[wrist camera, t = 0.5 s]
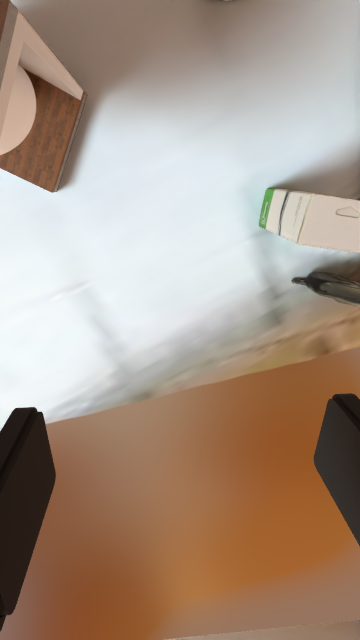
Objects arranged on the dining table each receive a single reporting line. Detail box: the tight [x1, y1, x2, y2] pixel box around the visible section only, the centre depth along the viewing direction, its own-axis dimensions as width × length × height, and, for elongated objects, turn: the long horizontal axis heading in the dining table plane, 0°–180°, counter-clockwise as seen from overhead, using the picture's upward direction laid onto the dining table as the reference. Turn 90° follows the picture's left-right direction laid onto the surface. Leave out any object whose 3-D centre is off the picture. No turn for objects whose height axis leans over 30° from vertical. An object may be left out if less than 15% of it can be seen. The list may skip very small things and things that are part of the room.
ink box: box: [259, 188, 360, 253], centre depth 35 cm, size 9×5×12 cm, turn 82°
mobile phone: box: [292, 273, 360, 306], centre depth 43 cm, size 5×3×15 cm
